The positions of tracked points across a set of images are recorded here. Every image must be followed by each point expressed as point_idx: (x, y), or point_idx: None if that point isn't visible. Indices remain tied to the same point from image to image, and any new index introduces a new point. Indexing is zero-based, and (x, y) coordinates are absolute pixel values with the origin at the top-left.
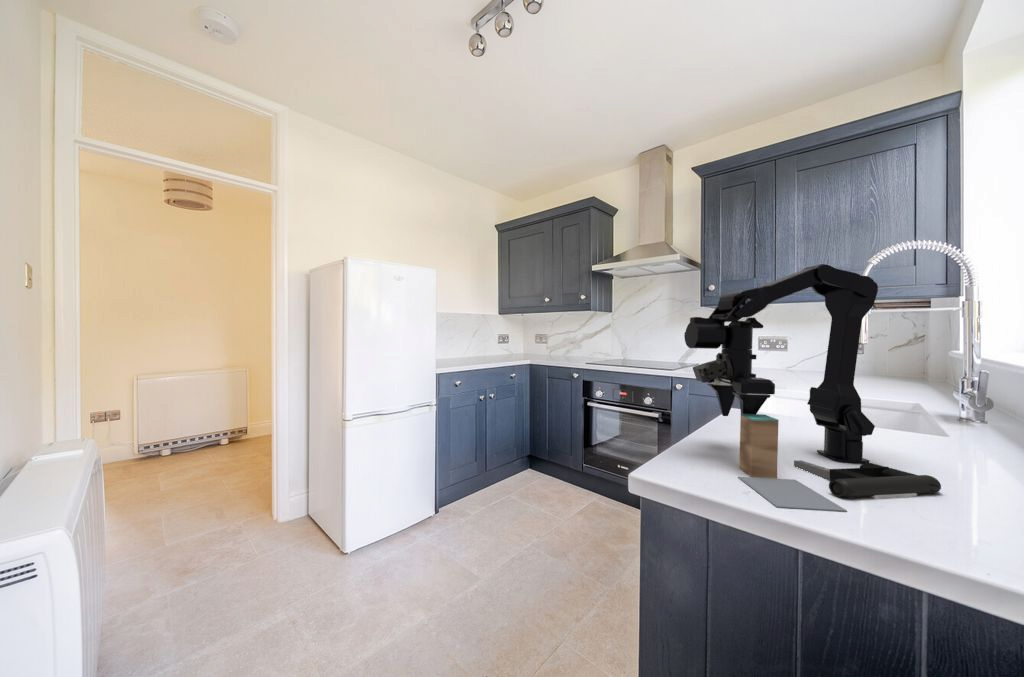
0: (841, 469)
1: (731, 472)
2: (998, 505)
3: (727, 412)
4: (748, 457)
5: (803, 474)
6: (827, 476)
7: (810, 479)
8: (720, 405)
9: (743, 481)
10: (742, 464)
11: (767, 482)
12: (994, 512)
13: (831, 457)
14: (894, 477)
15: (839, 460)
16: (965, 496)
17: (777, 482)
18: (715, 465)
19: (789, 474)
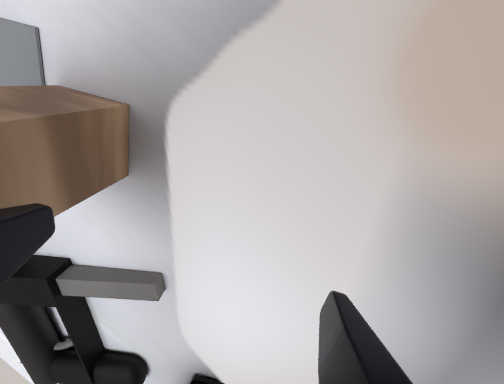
0: (49, 299)
1: (85, 42)
2: None
3: (322, 334)
4: (19, 93)
5: (108, 246)
6: (76, 270)
7: (77, 233)
8: (376, 365)
9: (3, 19)
10: (94, 100)
11: None
12: (6, 351)
13: (209, 382)
14: (6, 333)
15: (192, 378)
16: None
17: None
18: (151, 27)
19: (102, 215)
